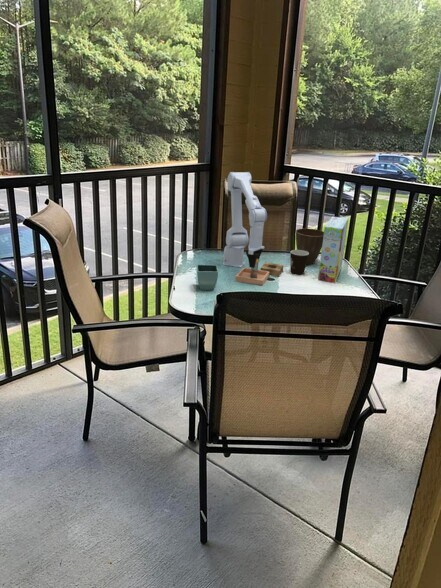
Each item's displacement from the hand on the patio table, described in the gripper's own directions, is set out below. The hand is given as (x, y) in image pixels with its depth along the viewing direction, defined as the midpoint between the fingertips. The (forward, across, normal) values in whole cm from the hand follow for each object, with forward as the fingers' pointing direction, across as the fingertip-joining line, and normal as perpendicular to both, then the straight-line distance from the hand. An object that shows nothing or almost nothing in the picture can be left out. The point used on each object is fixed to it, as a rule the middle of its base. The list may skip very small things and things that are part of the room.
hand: (253, 265), depth 206 cm
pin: (+6, 0, 0) cm, 6 cm away
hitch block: (+6, +12, -6) cm, 15 cm away
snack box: (+7, +23, -32) cm, 40 cm away
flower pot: (+7, -20, +15) cm, 25 cm away
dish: (+6, 0, 0) cm, 6 cm away
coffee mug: (+7, +20, -17) cm, 27 cm away
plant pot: (+7, +36, -19) cm, 41 cm away
